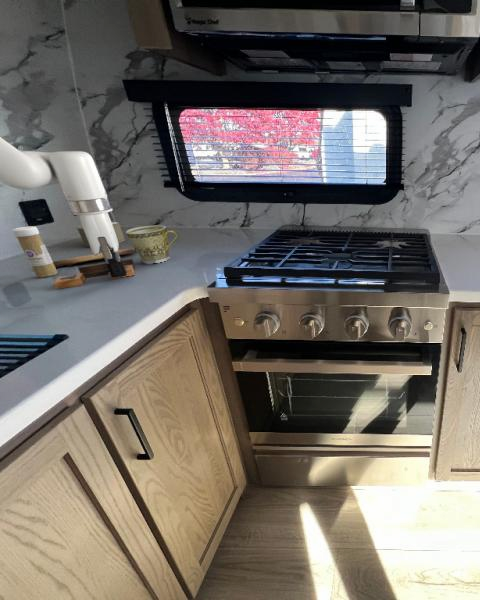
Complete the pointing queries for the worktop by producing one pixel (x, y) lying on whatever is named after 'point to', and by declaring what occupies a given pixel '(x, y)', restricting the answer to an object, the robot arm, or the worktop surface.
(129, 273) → the tile
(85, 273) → the dark brown wooden block
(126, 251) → the wooden board
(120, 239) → the olive green bowl
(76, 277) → the tile
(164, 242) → the ceramic cup
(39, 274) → the sprinkles bottle
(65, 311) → the worktop surface
